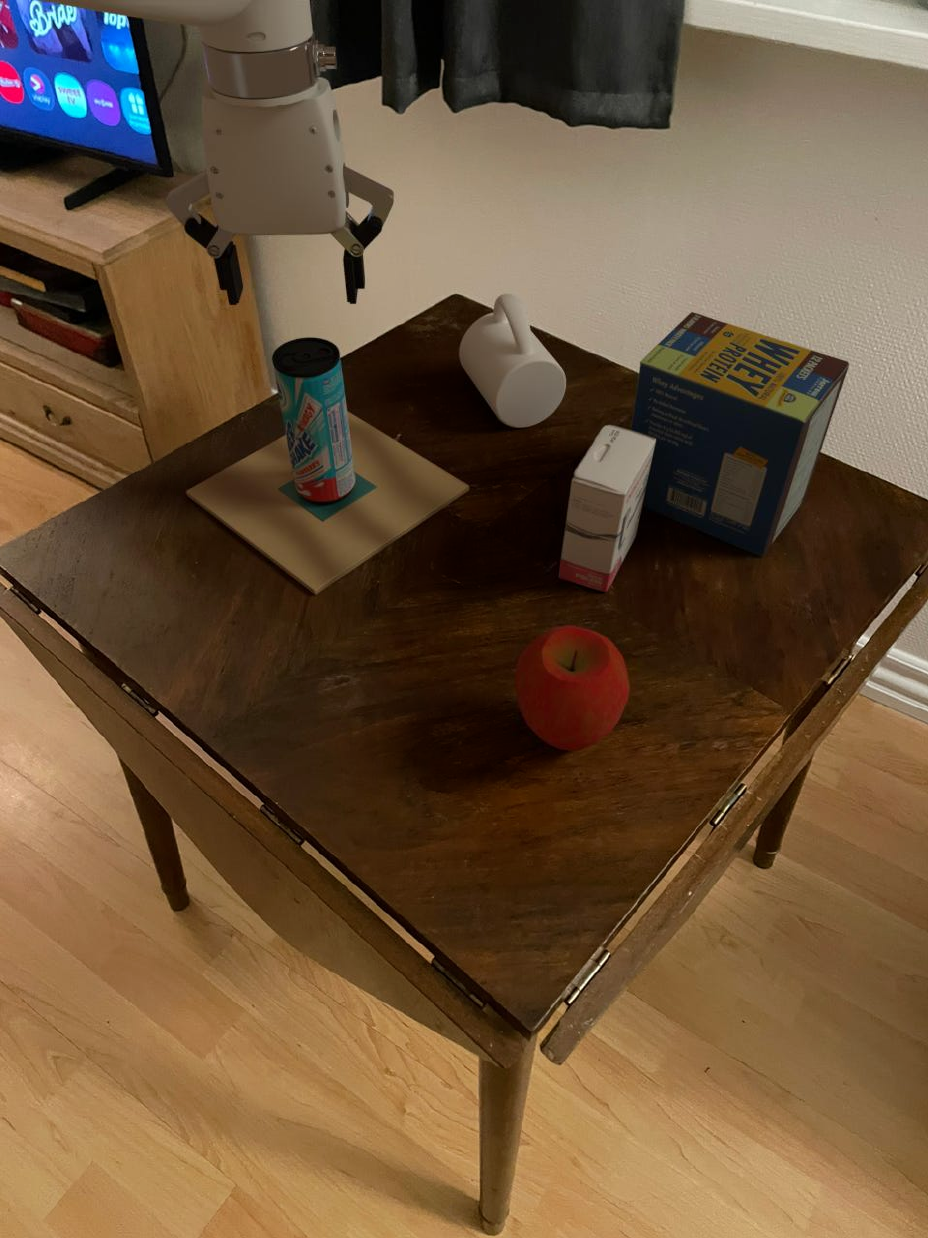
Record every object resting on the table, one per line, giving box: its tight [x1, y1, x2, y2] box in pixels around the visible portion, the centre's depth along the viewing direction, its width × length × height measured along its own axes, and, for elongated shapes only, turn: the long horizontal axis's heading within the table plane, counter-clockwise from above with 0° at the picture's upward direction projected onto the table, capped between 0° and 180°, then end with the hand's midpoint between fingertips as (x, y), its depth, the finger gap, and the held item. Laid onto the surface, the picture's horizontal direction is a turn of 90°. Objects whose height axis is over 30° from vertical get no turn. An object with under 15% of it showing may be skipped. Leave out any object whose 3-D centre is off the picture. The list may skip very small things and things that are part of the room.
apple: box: [513, 624, 631, 752], centre depth 69 cm, size 9×8×11 cm
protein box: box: [630, 311, 850, 558], centre depth 86 cm, size 10×15×16 cm
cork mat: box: [185, 410, 470, 595], centre depth 93 cm, size 20×20×1 cm
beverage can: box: [271, 336, 355, 505], centre depth 87 cm, size 6×6×15 cm
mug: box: [458, 293, 567, 429], centre depth 99 cm, size 8×10×12 cm
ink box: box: [558, 424, 656, 593], centre depth 82 cm, size 9×5×12 cm, turn 155°
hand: (294, 296), depth 77 cm, fingers open, 9 cm apart
